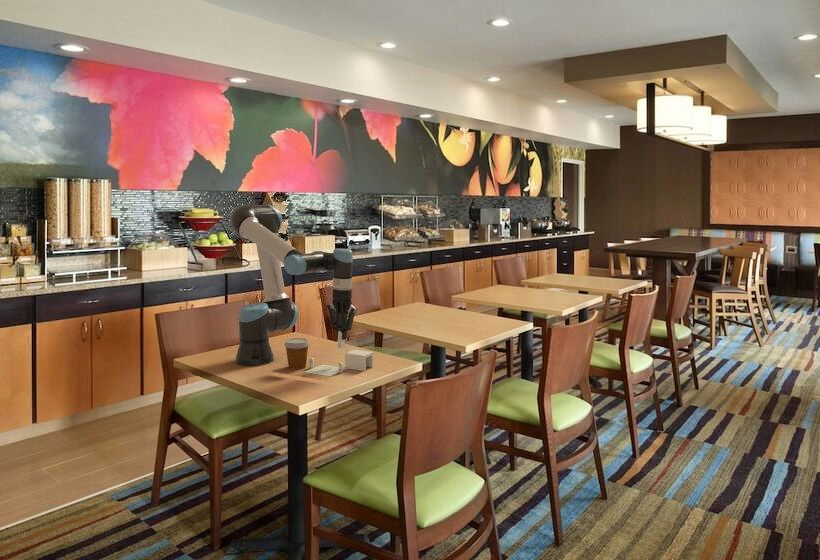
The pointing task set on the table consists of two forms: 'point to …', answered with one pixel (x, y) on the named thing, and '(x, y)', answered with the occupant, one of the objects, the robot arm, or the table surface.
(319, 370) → the board
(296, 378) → the table surface
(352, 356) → the block
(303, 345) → the disposable coffee cup
